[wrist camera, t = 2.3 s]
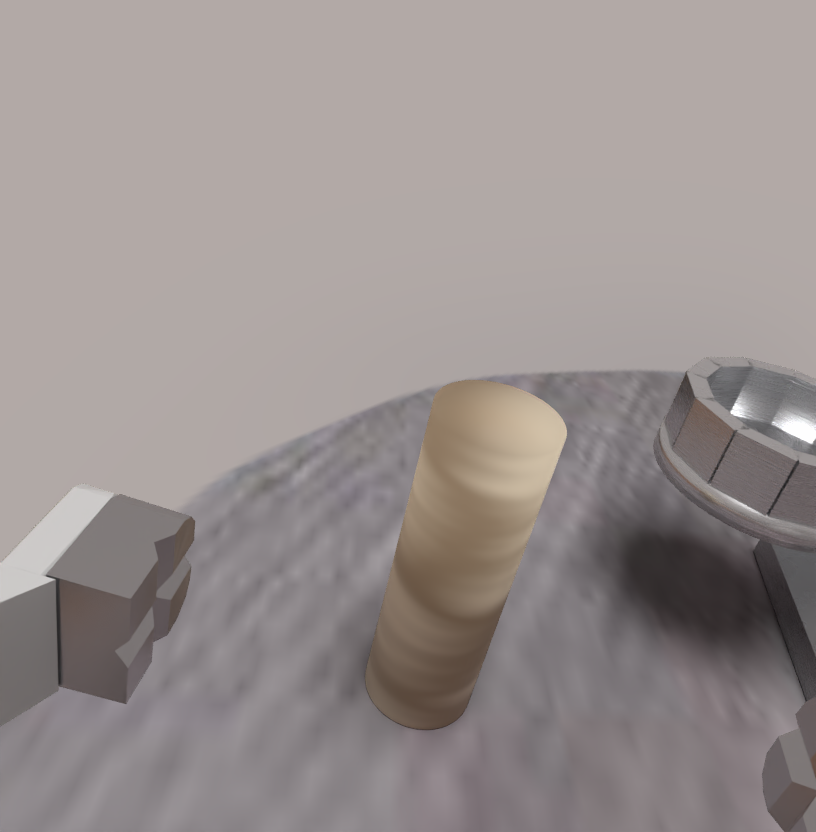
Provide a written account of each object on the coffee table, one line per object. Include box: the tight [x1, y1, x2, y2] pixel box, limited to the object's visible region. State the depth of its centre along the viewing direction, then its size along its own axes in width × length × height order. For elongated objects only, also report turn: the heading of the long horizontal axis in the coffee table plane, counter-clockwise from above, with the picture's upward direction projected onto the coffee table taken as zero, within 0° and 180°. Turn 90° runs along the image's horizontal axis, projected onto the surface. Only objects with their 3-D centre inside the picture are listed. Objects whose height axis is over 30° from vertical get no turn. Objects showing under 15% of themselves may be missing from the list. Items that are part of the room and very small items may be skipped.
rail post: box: [365, 380, 567, 730], centre depth 25 cm, size 4×4×12 cm
